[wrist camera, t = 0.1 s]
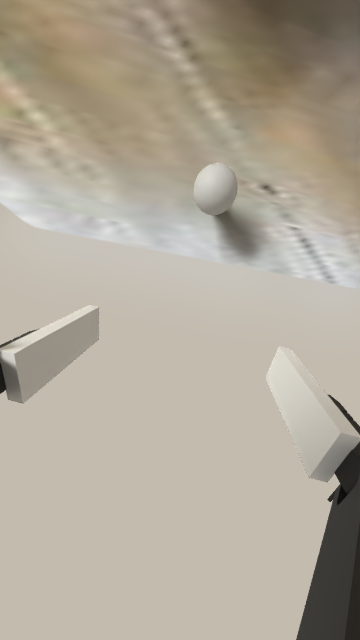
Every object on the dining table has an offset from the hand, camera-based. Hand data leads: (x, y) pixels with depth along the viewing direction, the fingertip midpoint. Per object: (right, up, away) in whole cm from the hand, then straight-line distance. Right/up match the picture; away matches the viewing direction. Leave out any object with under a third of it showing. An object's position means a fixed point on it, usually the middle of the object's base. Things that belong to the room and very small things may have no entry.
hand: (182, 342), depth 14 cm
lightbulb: (+6, +23, +21) cm, 32 cm away
